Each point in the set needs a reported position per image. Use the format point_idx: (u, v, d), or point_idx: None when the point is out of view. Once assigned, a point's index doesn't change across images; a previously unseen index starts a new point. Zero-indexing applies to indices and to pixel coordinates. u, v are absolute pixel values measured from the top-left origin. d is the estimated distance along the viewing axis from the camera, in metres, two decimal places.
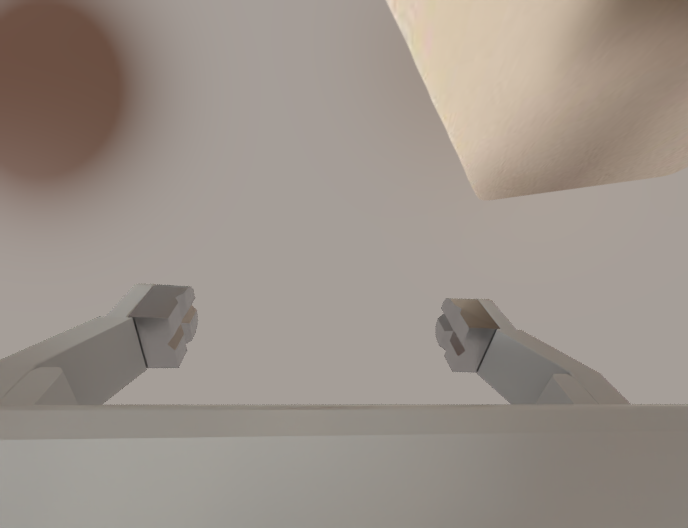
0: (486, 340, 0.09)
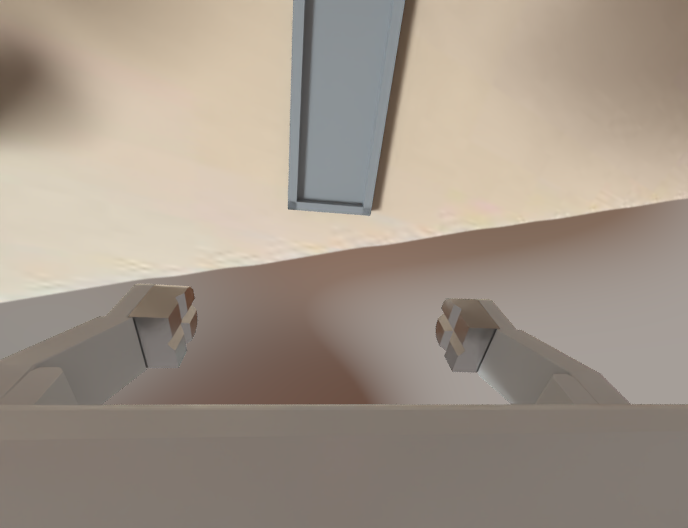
0: (486, 340, 0.09)
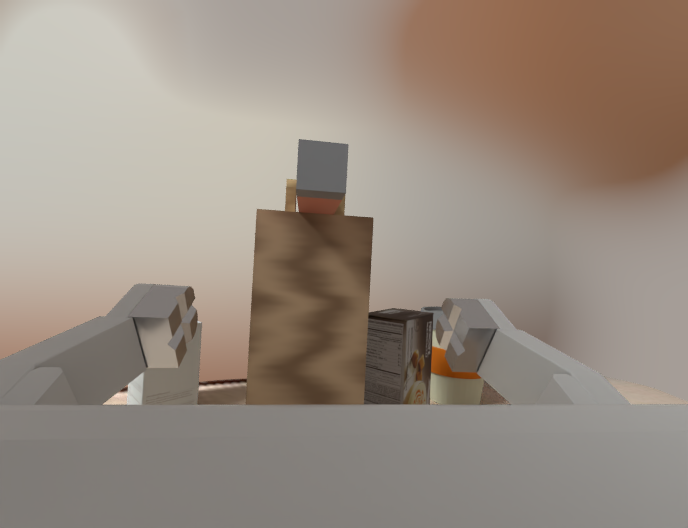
0: (486, 340, 0.09)
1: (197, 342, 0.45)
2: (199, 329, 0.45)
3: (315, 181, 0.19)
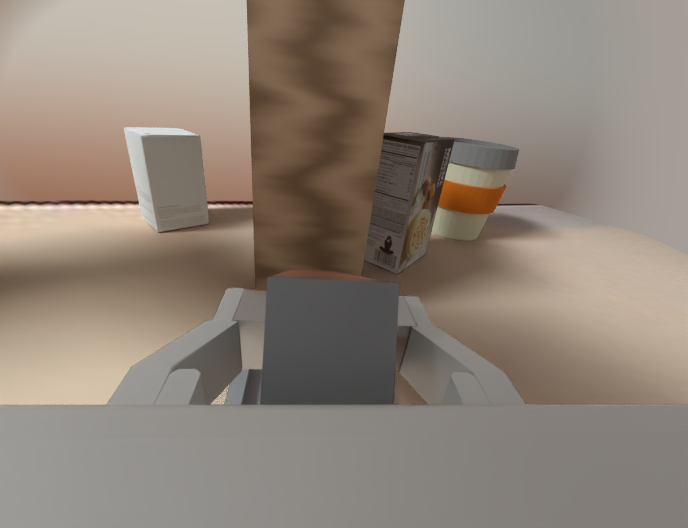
0: (404, 339, 0.09)
1: (198, 157, 0.42)
2: (198, 143, 0.42)
3: (312, 389, 0.07)
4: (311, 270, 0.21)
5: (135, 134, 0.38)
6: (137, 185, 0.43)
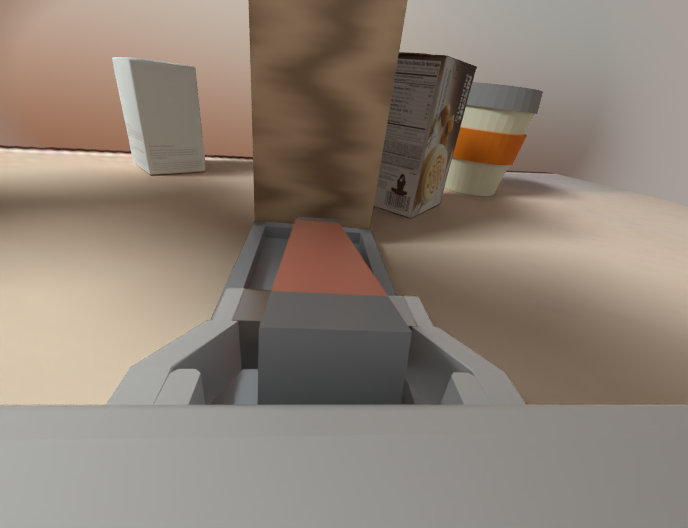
0: None
1: (194, 92, 0.39)
2: (193, 75, 0.38)
3: None
4: (314, 225, 0.19)
5: (123, 59, 0.34)
6: (127, 124, 0.40)
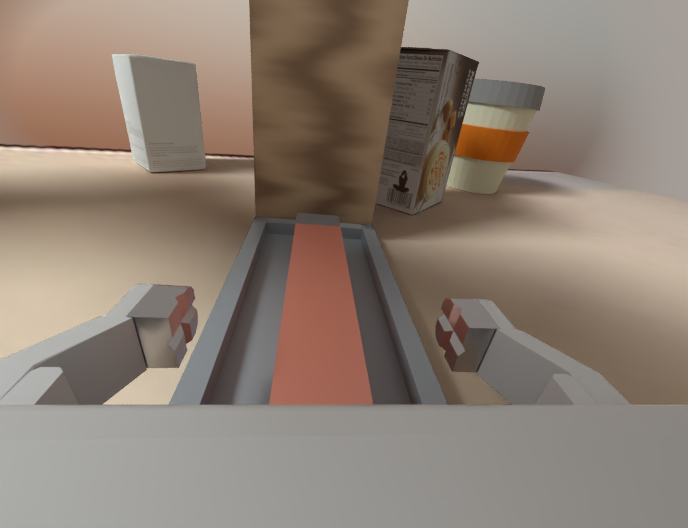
0: (486, 341, 0.09)
1: (194, 89, 0.39)
2: (193, 72, 0.38)
3: None
4: (314, 238, 0.19)
5: (123, 56, 0.34)
6: (127, 122, 0.40)
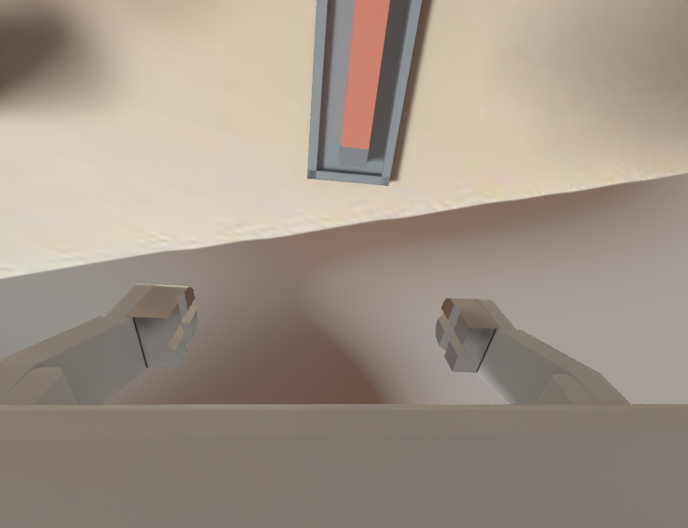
0: (486, 341, 0.09)
1: None
2: None
3: None
4: (369, 11, 0.28)
5: None
6: None
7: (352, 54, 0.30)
